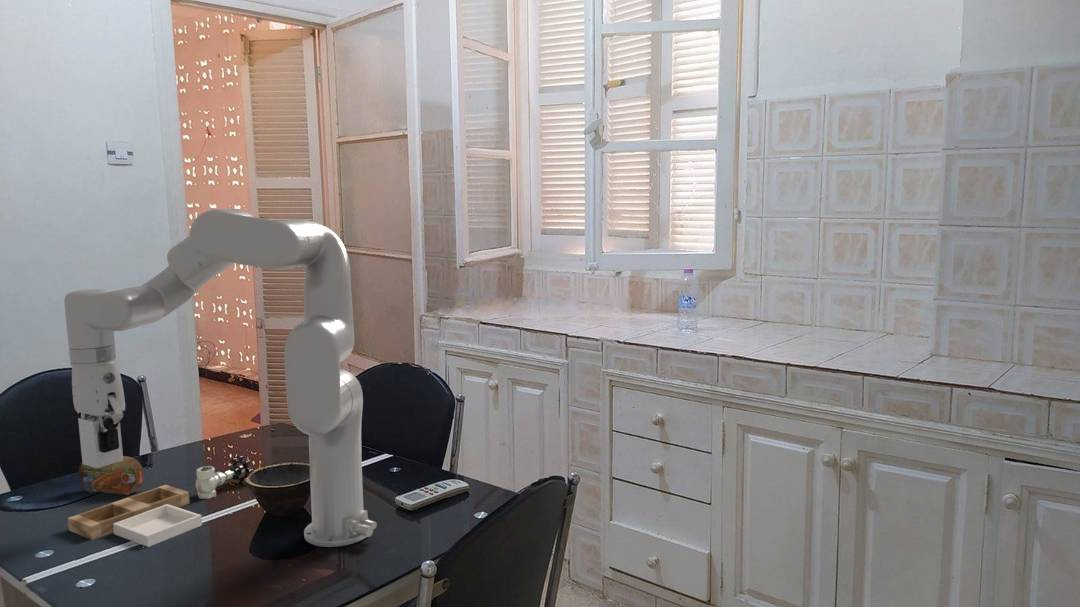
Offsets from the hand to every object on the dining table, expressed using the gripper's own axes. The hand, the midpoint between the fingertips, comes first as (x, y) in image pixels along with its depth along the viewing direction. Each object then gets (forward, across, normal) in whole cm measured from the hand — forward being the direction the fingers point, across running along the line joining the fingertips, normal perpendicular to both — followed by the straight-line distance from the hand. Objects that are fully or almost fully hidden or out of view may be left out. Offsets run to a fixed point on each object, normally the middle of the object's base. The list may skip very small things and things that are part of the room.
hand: (101, 447), depth 145 cm
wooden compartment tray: (+16, 0, -5) cm, 17 cm away
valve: (+17, -3, -23) cm, 29 cm away
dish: (+16, -10, -4) cm, 20 cm away
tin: (+16, +17, -11) cm, 26 cm away
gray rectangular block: (+3, 0, 0) cm, 3 cm away
